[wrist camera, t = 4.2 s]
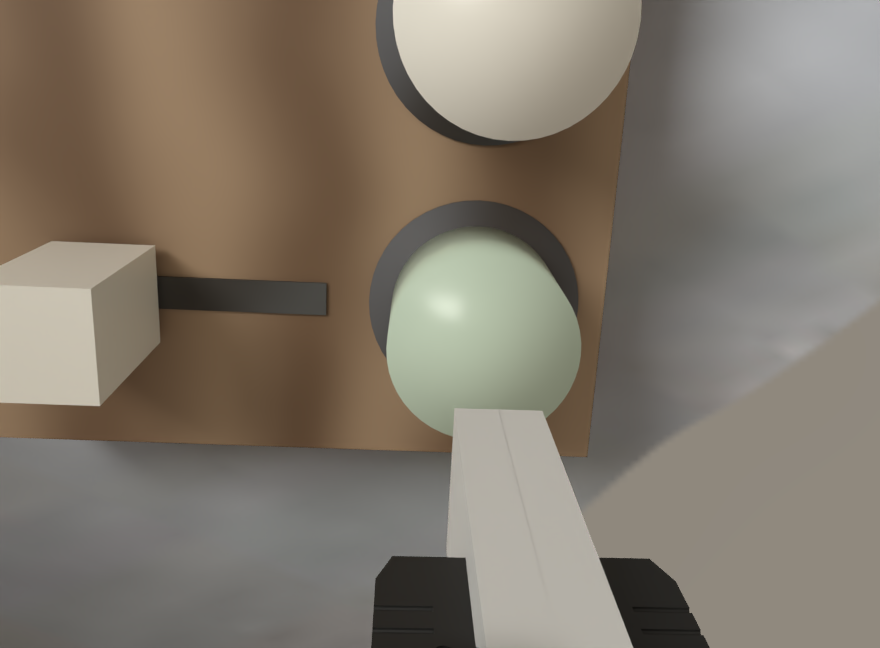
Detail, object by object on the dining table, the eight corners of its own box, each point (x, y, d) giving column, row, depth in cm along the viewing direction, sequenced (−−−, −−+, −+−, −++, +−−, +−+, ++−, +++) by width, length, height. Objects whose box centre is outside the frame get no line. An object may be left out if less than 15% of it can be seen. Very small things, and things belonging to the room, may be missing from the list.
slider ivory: (60, 338, 25) (-24, 401, 21) (51, 241, 24) (-39, 284, 20) (160, 342, 25) (100, 406, 21) (154, 245, 25) (90, 288, 20)
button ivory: (395, 122, 21) (389, 135, 17) (401, -95, 20) (397, -133, 16) (590, 132, 21) (626, 146, 18) (611, -83, 20) (656, -118, 16)
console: (47, 390, 30) (-8, 438, 26) (-40, -500, 23) (-135, -617, 19) (566, 408, 31) (587, 458, 27) (652, -450, 23) (698, -554, 19)
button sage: (389, 382, 26) (383, 437, 22) (394, 222, 24) (389, 251, 21) (549, 388, 26) (571, 443, 22) (564, 230, 25) (590, 260, 21)
